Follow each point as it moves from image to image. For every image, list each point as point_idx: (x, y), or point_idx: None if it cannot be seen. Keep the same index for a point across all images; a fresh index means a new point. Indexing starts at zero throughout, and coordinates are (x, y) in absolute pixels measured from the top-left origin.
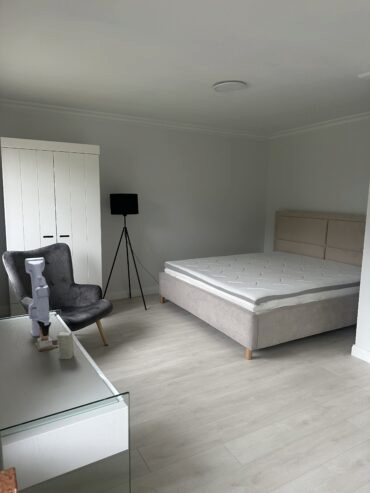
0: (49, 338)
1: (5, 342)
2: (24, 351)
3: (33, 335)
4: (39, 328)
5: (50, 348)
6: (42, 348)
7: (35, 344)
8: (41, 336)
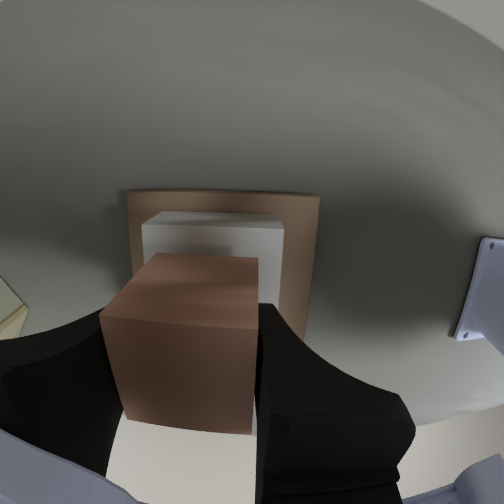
0: None
1: (491, 46)
2: (219, 77)
3: (491, 241)
4: (210, 324)
5: None
6: (138, 224)
7: (299, 195)
8: (144, 271)
